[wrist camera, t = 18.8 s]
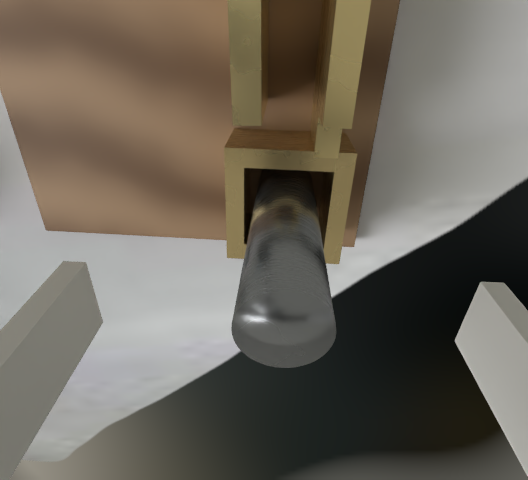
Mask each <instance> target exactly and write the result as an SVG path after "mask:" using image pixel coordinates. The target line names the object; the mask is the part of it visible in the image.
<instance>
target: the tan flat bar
mask: <svg viewBox="0 0 528 480" xmlns="http://www.w3.org/2000/svg"><path fill="white" fill-rule="evenodd" d="M227 2H228V26H229V50H230V73H231V97H232V121H233V126H261V125H262V121H263V118H264V114H265V110H266V106H267V102H268V21H269V0H227Z"/></svg>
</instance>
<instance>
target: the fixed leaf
mask: <svg viewBox="0 0 528 480" xmlns="http://www.w3.org/2000/svg"><path fill="white" fill-rule="evenodd" d="M370 5H371V0H322V11H321V21H320V32H319V43H318V53H317V64H316V74H315V85H314V96H313V106H312V117H311V127H310V131H288V130H265V129H242V128H234V130H233V131H232V133H231V135H230V137H229V139H228V141H227V143H226V145H225V147H224V164H225V199H226V235H227V258H239V259H244V257H245V252H246V246H247V241H248V236H249V230H250V225H251V220H252V214H251V213H250V179H251V168H260V169H281V170H302V171H323V172H324V176H323V185H322V193H321V201H320V209H319V217H318V219H319V225H320V232H321V238H322V244H323V250H324V256H325V262H326V263H329V264H339V261H340V255H341V249H342V243H343V237H344V231H345V225H346V219H347V213H348V207H349V201H350V195H351V189H352V183H353V177H354V171H355V165H356V159H357V152H356V150H355V148H354V147H353V145H352V143H351V141H350V139H349V138H348V136H347V134H346V133H342V129H352V123H353V117H354V110H355V103H356V97H357V90H358V84H359V77H360V71H361V64H362V58H363V51H364V44H365V38H366V31H367V25H368V18H369V12H370Z"/></svg>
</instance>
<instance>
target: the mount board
mask: <svg viewBox="0 0 528 480" xmlns="http://www.w3.org/2000/svg"><path fill="white" fill-rule="evenodd" d="M399 3H400V0H371V5H370V12H369V18H368V25H367V31H366V38H365V44H364V51H363V58H362V64H361V71H360V77H359V84H358V90H357V97H356V103H355V110H354V117H353V123H352V129H342V133H346V134H347V136H348V138H349V139H350V141H351V143H352V145H353V147H354V148H355V150H356V152H357V159H356V165H355V171H354V177H353V183H352V189H351V195H350V201H349V207H348V213H347V219H346V225H345V231H344V237H343V243H342V246H344V247H354V244H355V239H356V233H357V228H358V223H359V217H360V212H361V207H362V201H363V196H364V191H365V185H366V180H367V174H368V169H369V164H370V158H371V153H372V148H373V142H374V137H375V132H376V126H377V121H378V116H379V110H380V105H381V100H382V94H383V89H384V84H385V78H386V73H387V68H388V62H389V57H390V51H391V46H392V41H393V35H394V30H395V25H396V19H397V14H398V9H399ZM321 11H322V0H269V21H268V102H267V106H266V110H265V114H264V118H263V121H262V125H261V126H233V121H232V97H231V73H230V50H229V26H228V2H227V0H0V90H1V93H2V96H3V99H4V102H5V105H6V109H7V112H8V115H9V118H10V121H11V124H12V127H13V130H14V133H15V136H16V139H17V142H18V145H19V149H20V152H21V155H22V158H23V161H24V164H25V167H26V170H27V173H28V176H29V179H30V182H31V185H32V188H33V192H34V195H35V198H36V201H37V204H38V207H39V210H40V213H41V216H42V219H43V222H44V225H45V228H46V230H48V231H67V232H85V233H103V234H122V235H140V236H159V237H177V238H196V239H214V240H227V235H226V199H225V164H224V147H225V145H226V143H227V141H228V139H229V137H230V135H231V133H232V131H233V130H234V128H242V129H265V130H288V131H310V127H311V117H312V106H313V96H314V85H315V74H316V64H317V53H318V43H319V32H320V21H321ZM262 170H263V169H260V168H251V179H250V213H251V214H253V209H254V204H255V198H256V193H257V188H258V182H259V177H260V174H261V172H262ZM310 174H311V177H312V182H313V188H314V195H315V201H316V207H317V213H318V217H319V209H320V201H321V193H322V185H323V176H324V172H323V171H310Z"/></svg>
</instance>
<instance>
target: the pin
mask: <svg viewBox="0 0 528 480" xmlns="http://www.w3.org/2000/svg"><path fill="white" fill-rule="evenodd" d="M232 335H233V339H234V341H235V343H236V345H237V346H238V348H239V349H240V350H241V351H242V352H243V353H244V354H245V355H247V356H248V357H250V358H251V359H253V360H255V361H257V362H259V363H262V364H265V365H268V366H273V367H282V368H288V367H297V366H302V365H306V364H309V363H311V362H313V361H316V360H317V359H319V358H320V357H322V356H323V355H324V354H325V353H326V352H327V351H328V350H329V349H330V348H331V346H332V344H333V342H334V340H335V336H336V324H335V318H334V312H333V306H332V299H331V293H330V287H329V281H328V275H327V269H326V262H325V256H324V250H323V244H322V238H321V232H320V225H319V219H318V213H317V207H316V201H315V195H314V188H313V182H312V177H311V174H310V171H302V170H281V169H263V170H262V172H261V174H260V177H259V182H258V188H257V193H256V198H255V204H254V209H253V214H252V220H251V225H250V230H249V236H248V241H247V246H246V252H245V257H244V262H243V268H242V273H241V278H240V284H239V289H238V294H237V300H236V305H235V310H234V316H233V321H232Z"/></svg>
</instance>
